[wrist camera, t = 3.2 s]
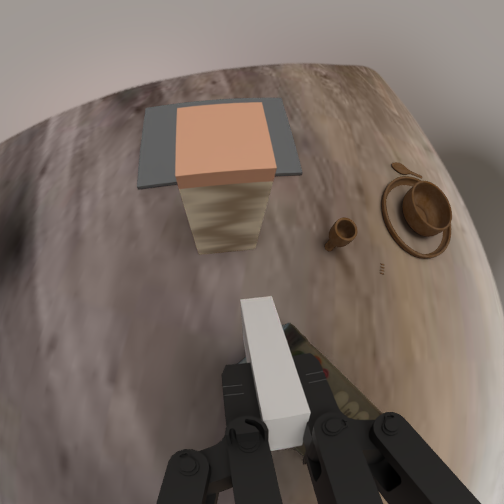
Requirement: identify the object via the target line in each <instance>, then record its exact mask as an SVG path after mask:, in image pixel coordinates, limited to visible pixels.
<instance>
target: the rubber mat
mask: <svg viewBox="0 0 504 504" xmlns="http://www.w3.org/2000/svg"><path fill="white" fill-rule="evenodd" d="M250 102H262V105H263V109H264V113H265V118H266V122H267V126H268V131H269V135H270V139H271V144H272V148H273V153H274V158H275V162H276V167H277V169H276V173H275V176H292V175H302V169H301V165H300V161H299V158H298V154H297V150H296V147H295V143H294V139H293V136H292V132H291V129H290V125H289V122H288V119H287V115H286V112H285V109H284V105H283V102H282V99H281V98H238V99H220V100H207V101H196V102H186V103H178V104H170V105H163V106H156V107H150V108H146V111H145V118H144V125H143V132H142V140H141V148H140V158H139V168H138V180H137V188H138V189H145V188H152V187H160V186H168V185H176V184H177V180H176V177H175V163H176V125H177V108H182V107H191V106H201V105H213V104H228V103H250Z"/></svg>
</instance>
